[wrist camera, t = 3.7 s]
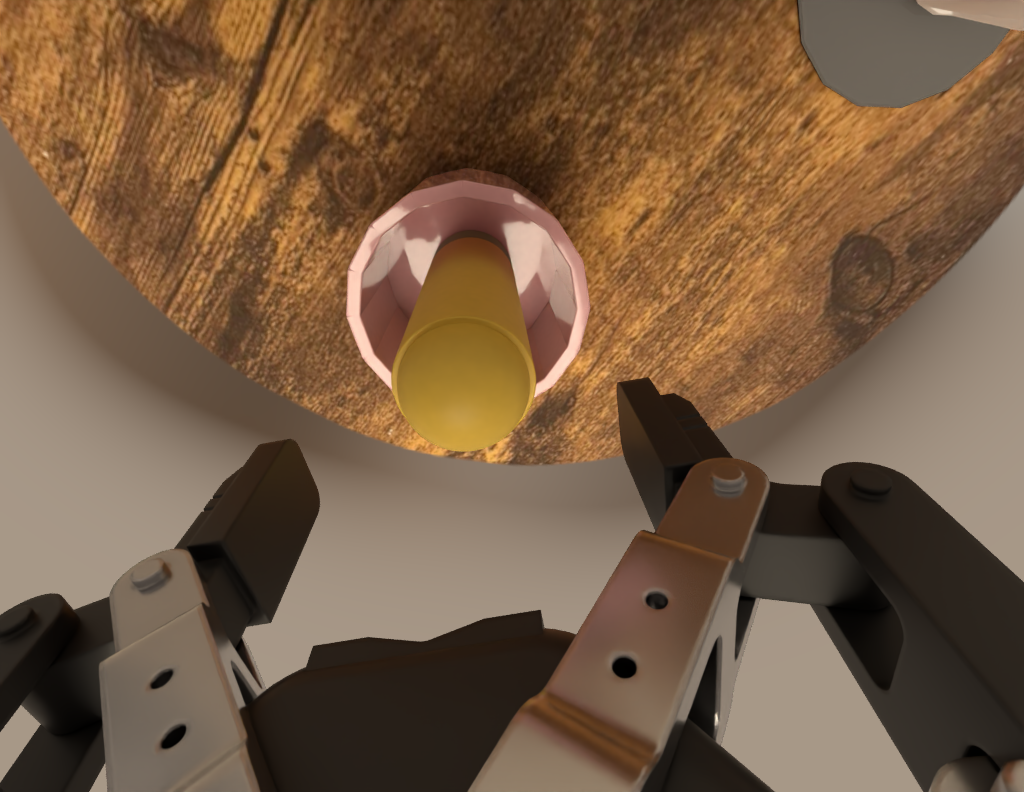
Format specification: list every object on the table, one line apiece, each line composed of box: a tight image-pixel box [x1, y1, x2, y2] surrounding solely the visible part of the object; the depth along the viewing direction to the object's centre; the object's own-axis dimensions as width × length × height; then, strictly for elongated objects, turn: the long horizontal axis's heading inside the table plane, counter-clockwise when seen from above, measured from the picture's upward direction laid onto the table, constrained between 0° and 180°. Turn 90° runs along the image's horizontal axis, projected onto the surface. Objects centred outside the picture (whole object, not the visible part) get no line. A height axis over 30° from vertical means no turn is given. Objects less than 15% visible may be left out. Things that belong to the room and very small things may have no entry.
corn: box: [391, 230, 536, 452], centre depth 21 cm, size 4×4×16 cm
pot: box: [346, 168, 590, 398], centre depth 25 cm, size 10×10×8 cm
